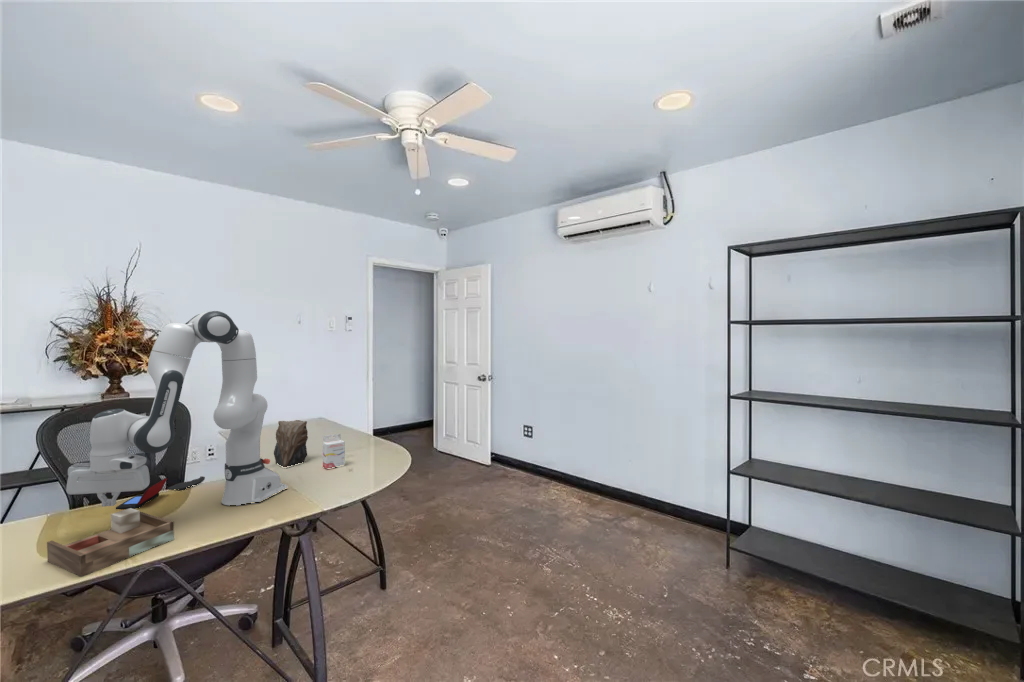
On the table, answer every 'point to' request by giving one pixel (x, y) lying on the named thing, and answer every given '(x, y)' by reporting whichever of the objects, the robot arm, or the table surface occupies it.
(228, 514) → the table surface
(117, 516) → the gray block
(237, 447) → the robot arm
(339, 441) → the ink cartridge box
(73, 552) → the box
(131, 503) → the handheld game console
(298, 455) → the owl
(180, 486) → the fan shaped piece
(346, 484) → the table surface
